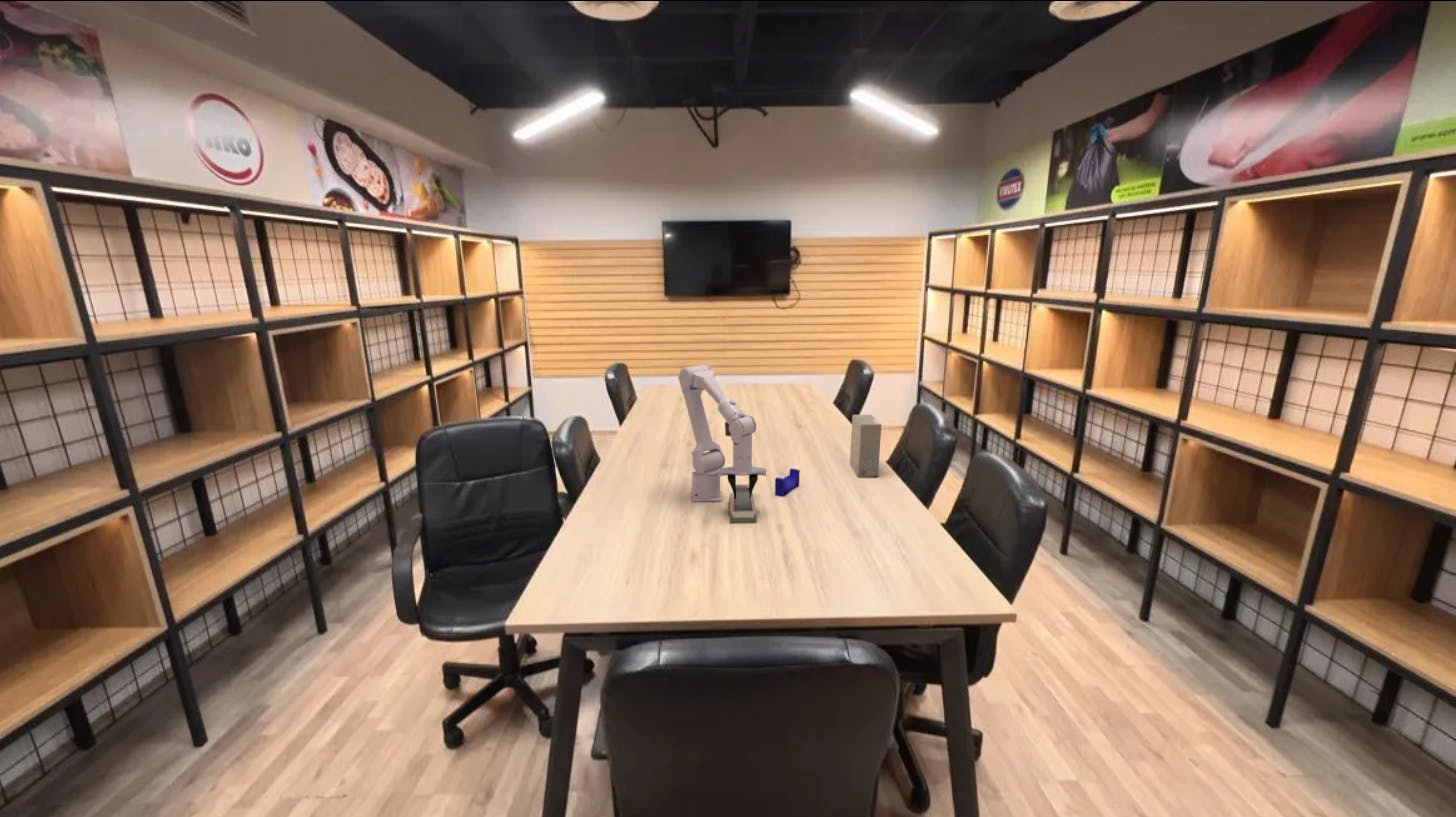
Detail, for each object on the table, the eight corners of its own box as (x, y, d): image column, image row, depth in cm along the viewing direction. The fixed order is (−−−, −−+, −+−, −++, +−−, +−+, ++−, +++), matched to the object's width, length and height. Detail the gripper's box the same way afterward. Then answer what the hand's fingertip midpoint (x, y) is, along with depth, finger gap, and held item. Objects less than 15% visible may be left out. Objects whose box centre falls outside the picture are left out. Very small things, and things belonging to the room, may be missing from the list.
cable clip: (787, 483, 197) (788, 467, 196) (799, 486, 195) (799, 469, 194) (771, 494, 188) (771, 477, 186) (782, 497, 185) (783, 480, 184)
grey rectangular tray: (730, 523, 166) (730, 512, 165) (729, 501, 181) (729, 491, 181) (756, 522, 166) (756, 511, 165) (753, 501, 182) (753, 491, 181)
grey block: (736, 509, 169) (736, 494, 168) (735, 499, 177) (735, 484, 176) (749, 509, 169) (749, 494, 168) (748, 499, 177) (748, 484, 176)
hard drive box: (878, 477, 202) (882, 424, 197) (857, 477, 202) (860, 424, 198) (868, 463, 217) (871, 414, 212) (849, 463, 217) (851, 414, 213)
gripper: (718, 459, 165) (718, 502, 169) (767, 459, 166) (766, 502, 169) (718, 452, 172) (718, 493, 175) (765, 452, 172) (764, 493, 176)
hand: (742, 497), depth 173 cm, fingers closed on grey block, 4 cm apart
